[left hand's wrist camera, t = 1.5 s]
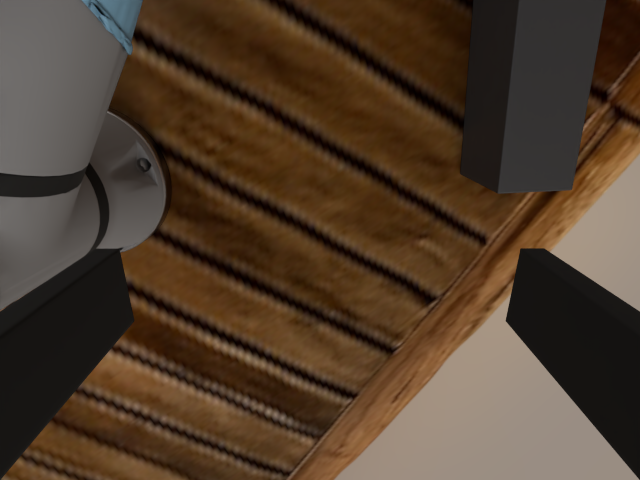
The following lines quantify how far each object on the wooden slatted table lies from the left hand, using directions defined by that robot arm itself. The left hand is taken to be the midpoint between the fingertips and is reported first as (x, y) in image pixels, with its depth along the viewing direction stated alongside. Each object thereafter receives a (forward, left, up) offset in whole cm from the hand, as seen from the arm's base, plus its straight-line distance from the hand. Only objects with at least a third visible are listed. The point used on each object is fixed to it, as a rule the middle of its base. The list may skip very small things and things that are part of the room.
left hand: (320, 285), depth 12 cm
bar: (+8, +18, -27) cm, 34 cm away
